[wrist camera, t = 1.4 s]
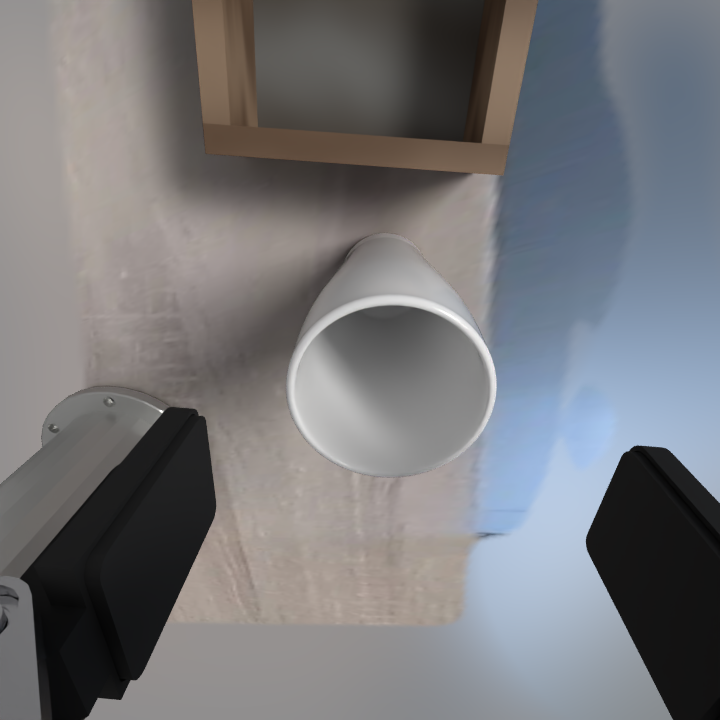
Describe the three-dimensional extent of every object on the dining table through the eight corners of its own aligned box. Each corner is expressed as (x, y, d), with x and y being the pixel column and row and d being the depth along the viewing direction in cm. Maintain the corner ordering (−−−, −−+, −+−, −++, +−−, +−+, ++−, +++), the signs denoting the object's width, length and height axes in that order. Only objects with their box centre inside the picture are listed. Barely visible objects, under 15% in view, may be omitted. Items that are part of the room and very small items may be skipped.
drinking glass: (412, 337, 28) (443, 504, 15) (317, 304, 28) (259, 447, 14) (456, 242, 25) (543, 341, 12) (351, 201, 25) (319, 257, 11)
